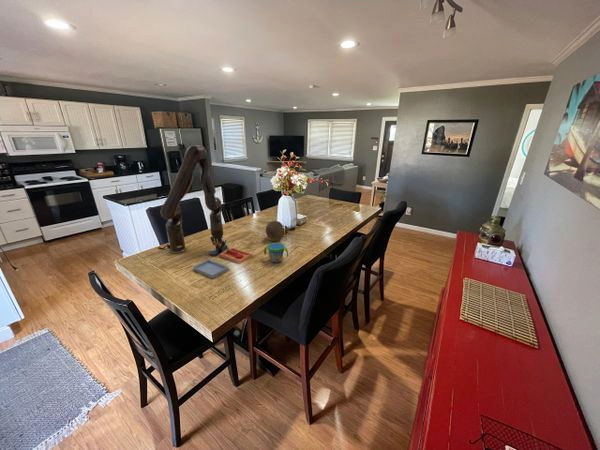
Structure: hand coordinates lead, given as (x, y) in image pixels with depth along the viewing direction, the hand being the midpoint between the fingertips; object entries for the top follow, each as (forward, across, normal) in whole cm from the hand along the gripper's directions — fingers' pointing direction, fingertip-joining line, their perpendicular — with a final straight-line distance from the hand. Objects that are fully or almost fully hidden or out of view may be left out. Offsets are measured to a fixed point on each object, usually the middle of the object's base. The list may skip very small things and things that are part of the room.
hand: (219, 251), depth 162 cm
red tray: (0, -15, -1) cm, 15 cm away
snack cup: (0, -40, -11) cm, 42 cm away
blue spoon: (0, 0, +1) cm, 1 cm away
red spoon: (0, -14, -1) cm, 15 cm away
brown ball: (0, -20, -36) cm, 41 cm away
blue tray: (0, -15, +19) cm, 24 cm away
